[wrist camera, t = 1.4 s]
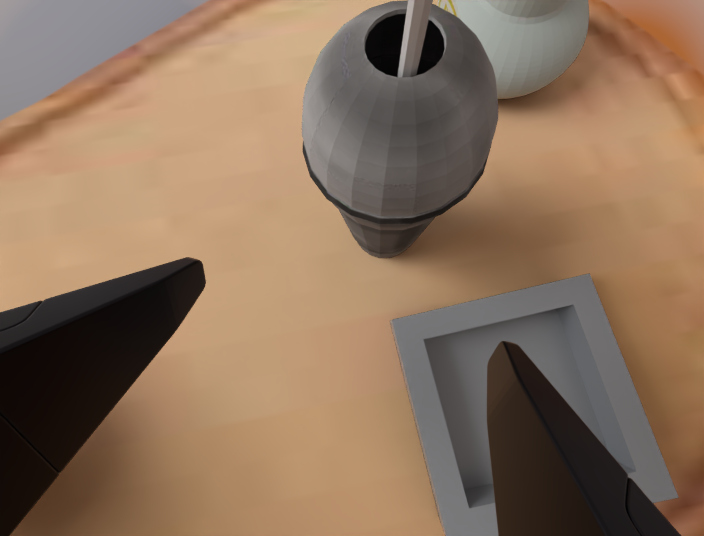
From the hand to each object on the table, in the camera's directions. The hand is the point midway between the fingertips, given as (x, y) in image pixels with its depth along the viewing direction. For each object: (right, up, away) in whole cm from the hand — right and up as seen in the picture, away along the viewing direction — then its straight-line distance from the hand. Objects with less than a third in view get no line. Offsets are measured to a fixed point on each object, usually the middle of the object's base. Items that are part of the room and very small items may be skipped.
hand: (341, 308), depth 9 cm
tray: (+11, -7, +11) cm, 17 cm away
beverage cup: (+3, +4, +14) cm, 15 cm away
